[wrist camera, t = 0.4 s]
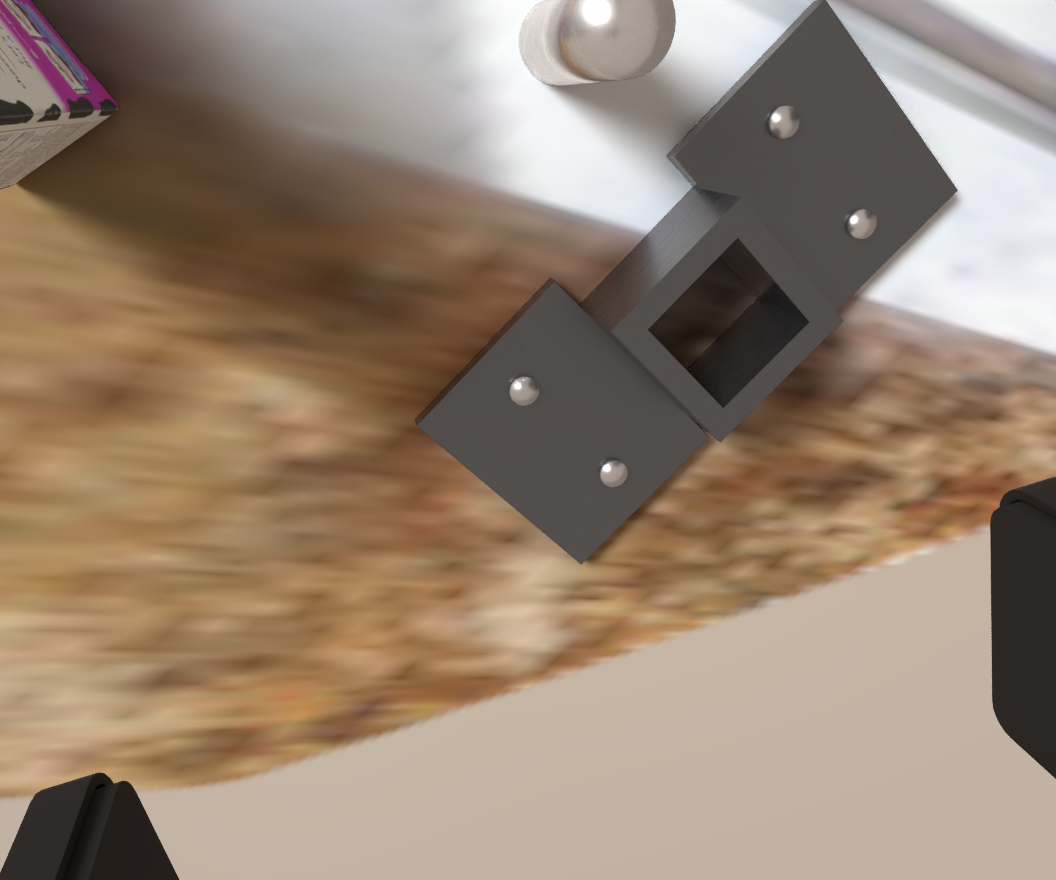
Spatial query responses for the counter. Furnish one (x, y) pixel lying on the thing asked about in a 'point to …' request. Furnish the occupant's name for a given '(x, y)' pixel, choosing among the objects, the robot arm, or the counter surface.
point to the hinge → (673, 266)
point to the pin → (595, 39)
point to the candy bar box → (41, 92)
